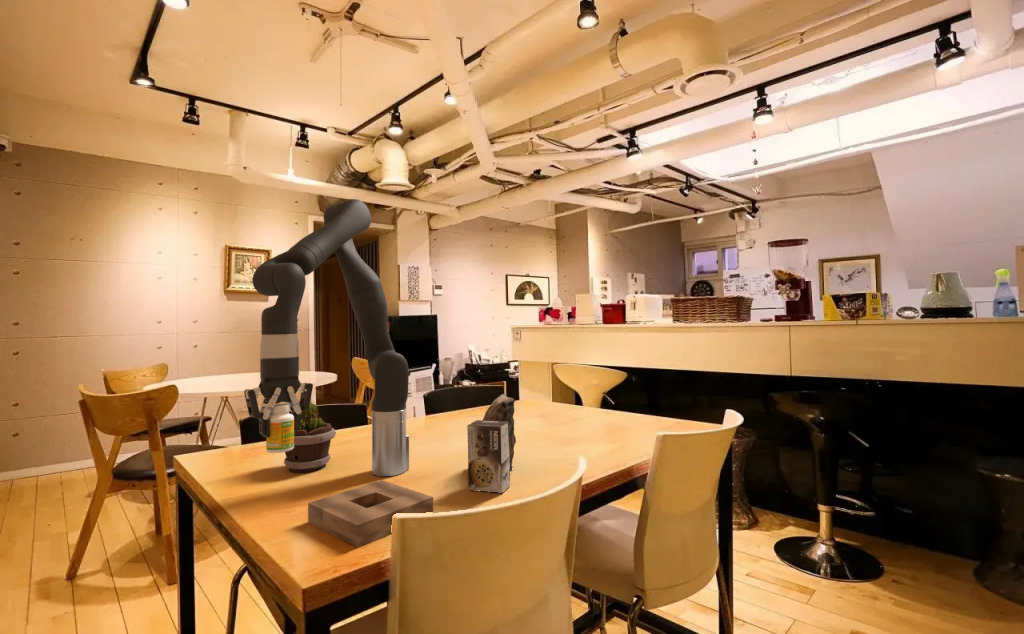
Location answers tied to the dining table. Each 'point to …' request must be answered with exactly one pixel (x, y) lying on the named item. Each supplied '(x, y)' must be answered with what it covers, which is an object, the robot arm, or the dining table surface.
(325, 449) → the flowerpot
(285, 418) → the supplement bottle
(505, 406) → the owl
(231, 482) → the dining table surface
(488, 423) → the coffee box
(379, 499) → the socket board
